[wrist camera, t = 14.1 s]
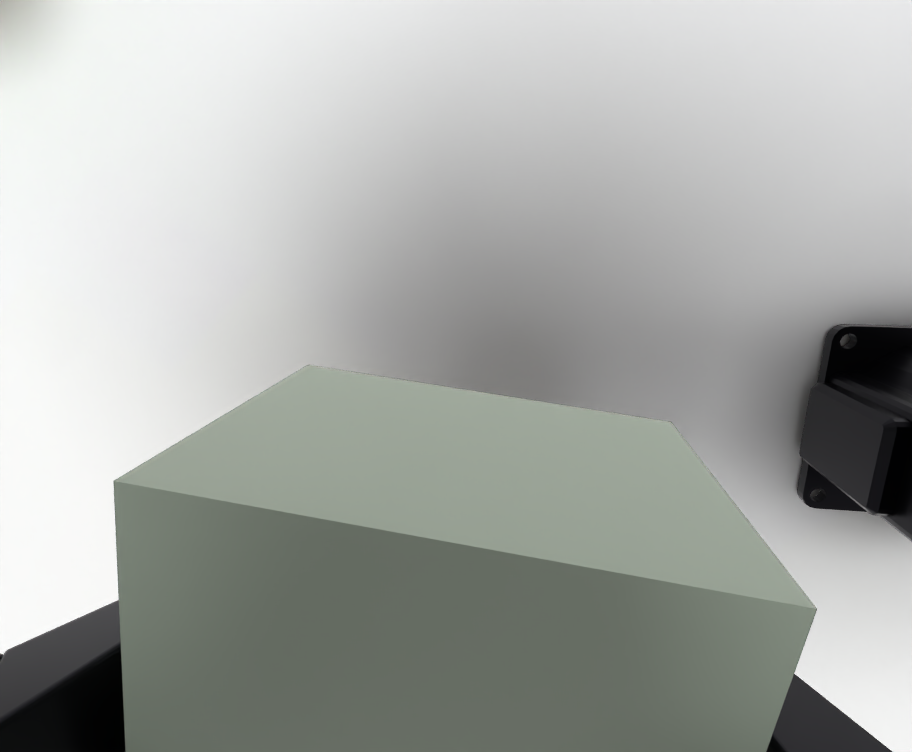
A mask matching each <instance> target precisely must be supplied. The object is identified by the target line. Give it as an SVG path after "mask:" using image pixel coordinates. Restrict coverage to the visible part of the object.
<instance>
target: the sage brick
mask: <svg viewBox="0 0 912 752" xmlns="http://www.w3.org/2000/svg"><path fill="white" fill-rule="evenodd" d="M114 502H115V524H116V547H117V570H118V593H119V615H120V638H121V661H122V683H123V706H124V729H125V752H766V751H767V748H768V745H769V742H770V740H771V737H772V734H773V731H774V728H775V726H776V723H777V720H778V717H779V714H780V712H781V709H782V706H783V703H784V700H785V697H786V695H787V692H788V689H789V686H790V683H791V681H792V678H793V675H794V672H795V669H796V667H797V664H798V661H799V658H800V655H801V653H802V650H803V647H804V644H805V641H806V639H807V636H808V633H809V630H810V627H811V624H812V622H813V619H814V616H815V613H816V610H817V608H816V607H815V606H814V605H813V603H812V602H811V601H810V599H809V598H808V597H807V596H806V594H805V593H804V592H803V590H802V589H801V588H800V587H799V585H798V584H797V583H796V581H795V580H794V579H793V578H792V576H791V575H790V574H789V572H788V571H787V570H786V569H785V567H784V566H783V565H782V563H781V562H780V561H779V560H778V558H777V557H776V556H775V555H774V553H773V552H772V551H771V549H770V548H769V547H768V546H767V544H766V543H765V542H764V540H763V539H762V538H761V537H760V535H759V534H758V533H757V531H756V530H755V529H754V528H753V526H752V525H751V524H750V522H749V521H748V520H747V519H746V517H745V516H744V515H743V513H742V512H741V511H740V510H739V508H738V507H737V506H736V504H735V503H734V502H733V501H732V499H731V498H730V497H729V495H728V494H727V493H726V492H725V490H724V489H723V488H722V487H721V485H720V484H719V483H718V481H717V480H716V479H715V478H714V476H713V475H712V474H711V472H710V471H709V470H708V469H707V467H706V466H705V465H704V463H703V462H702V461H701V460H700V458H699V457H698V456H697V454H696V453H695V452H694V451H693V449H692V448H691V447H690V445H689V444H688V443H687V442H686V440H685V439H684V438H683V436H682V435H681V434H680V433H679V431H678V430H677V429H676V427H675V426H674V425H673V424H672V422H668V421H662V420H655V419H649V418H643V417H636V416H630V415H624V414H617V413H611V412H605V411H598V410H592V409H585V408H579V407H573V406H566V405H560V404H554V403H547V402H541V401H535V400H528V399H522V398H516V397H509V396H503V395H497V394H490V393H484V392H478V391H471V390H465V389H458V388H452V387H446V386H439V385H433V384H427V383H420V382H414V381H408V380H401V379H395V378H389V377H382V376H376V375H370V374H363V373H357V372H350V371H344V370H338V369H331V368H325V367H319V366H312V365H307V366H305V367H303V368H302V369H300V370H298V371H297V372H295V373H293V374H292V375H290V376H288V377H287V378H285V379H283V380H282V381H280V382H278V383H277V384H275V385H273V386H272V387H270V388H268V389H266V390H265V391H263V392H261V393H260V394H258V395H256V396H255V397H253V398H251V399H250V400H248V401H246V402H245V403H243V404H241V405H240V406H238V407H236V408H235V409H233V410H231V411H230V412H228V413H226V414H225V415H223V416H221V417H220V418H218V419H216V420H215V421H213V422H211V423H210V424H208V425H206V426H205V427H203V428H201V429H200V430H198V431H196V432H195V433H193V434H191V435H190V436H188V437H186V438H184V439H183V440H181V441H179V442H178V443H176V444H174V445H173V446H171V447H169V448H168V449H166V450H164V451H163V452H161V453H159V454H158V455H156V456H154V457H153V458H151V459H149V460H148V461H146V462H144V463H143V464H141V465H139V466H138V467H136V468H134V469H133V470H131V471H129V472H128V473H126V474H124V475H123V476H121V477H119V478H118V479H116V480H114Z"/></svg>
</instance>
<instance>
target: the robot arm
mask: <svg viewBox="0 0 912 752" xmlns="http://www.w3.org/2000/svg"><path fill="white" fill-rule="evenodd" d="M845 334H849V335H850V341H849V343H848V344H846V345H845V346H841V345H840V340H841V338H842V337H843V336H844V335H845ZM799 454H800V456H801V457H802V458H803V462H802V468H801V473H800V478H799V484H798V489H797V490H798V496H799V497H800V499H801V500H802V501H803V502H804V503H805V504H807V505H808V506H809V507H813V508H819V509H834V510H849V511H864V512H868V513H870V514H872V515H879V516H880V517H882V518H883V519H884V520H885V521H887V522H888V523H889V524H890V525H892V526H893V527H894V528H896V529H897V530H898V531H899V532H901V533H902V534H903V535H904V536H906V537H907V538H908V539H909V540H911V541H912V326H888V325H855V324H843V325H838V326H836V327H834V328H832V329H831V330H830V331H829V332H828V334H827V336H826V339H825V345H824V350H823V355H822V361H821V366H820V371H819V377H818V382H817V384H816V385H815V386H814V387H813V388H812V389H811V392H810V398H809V403H808V409H807V414H806V419H805V425H804V430H803V436H802V441H801V446H800V452H799ZM815 489H820V492H819V494H818V495H816V496H813V497H810V494H811V492H812V491H813V490H815ZM0 752H125V729H124V706H123V683H122V661H121V638H120V615H119V600H118V601H115V602H113V603H111V604H109V605H106V606H104V607H102V608H100V609H97V610H95V611H93V612H91V613H89V614H86V615H84V616H82V617H80V618H77V619H75V620H73V621H71V622H68V623H66V624H64V625H62V626H60V627H57V628H55V629H53V630H51V631H48V632H46V633H44V634H42V635H40V636H37V637H35V638H33V639H31V640H28V641H26V642H24V643H22V644H19V645H17V646H15V647H13V648H11V649H8V650H7V651H6V652H5V653H4V655H3V654H0ZM766 752H892V751H891V750H889V749H888V748H887V747H886V746H884V745H883V744H882V743H881V742H879V741H878V740H877V739H876V738H874V737H873V736H872V735H871V734H869V733H868V732H867V731H866V730H864V729H863V728H862V727H861V726H859V725H858V724H857V723H855V722H854V721H853V720H852V719H850V718H849V717H848V716H847V715H845V714H844V713H843V712H842V711H840V710H839V709H838V708H837V707H835V706H834V705H833V704H832V703H830V702H829V701H828V700H827V699H825V698H824V697H823V696H822V695H820V694H819V693H818V692H816V691H815V690H814V689H813V688H811V687H810V686H809V685H808V684H806V683H805V682H804V681H803V680H801V679H800V678H799V677H798V676H796V675H795V674H794V675H793V678H792V681H791V683H790V686H789V689H788V692H787V695H786V697H785V700H784V703H783V706H782V709H781V712H780V714H779V717H778V720H777V723H776V726H775V728H774V731H773V734H772V737H771V740H770V742H769V745H768V748H767V751H766Z"/></svg>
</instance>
